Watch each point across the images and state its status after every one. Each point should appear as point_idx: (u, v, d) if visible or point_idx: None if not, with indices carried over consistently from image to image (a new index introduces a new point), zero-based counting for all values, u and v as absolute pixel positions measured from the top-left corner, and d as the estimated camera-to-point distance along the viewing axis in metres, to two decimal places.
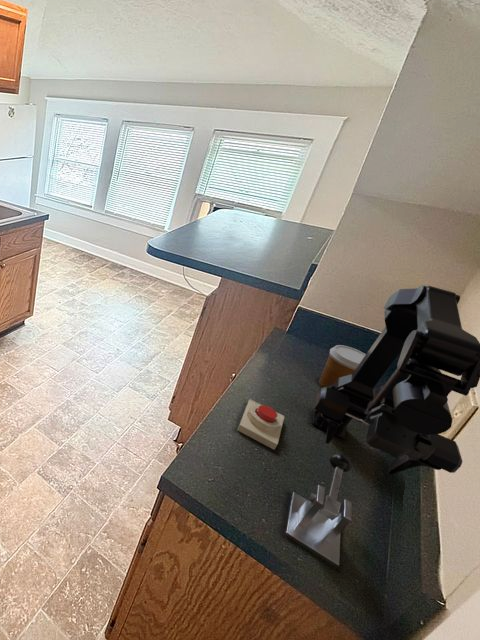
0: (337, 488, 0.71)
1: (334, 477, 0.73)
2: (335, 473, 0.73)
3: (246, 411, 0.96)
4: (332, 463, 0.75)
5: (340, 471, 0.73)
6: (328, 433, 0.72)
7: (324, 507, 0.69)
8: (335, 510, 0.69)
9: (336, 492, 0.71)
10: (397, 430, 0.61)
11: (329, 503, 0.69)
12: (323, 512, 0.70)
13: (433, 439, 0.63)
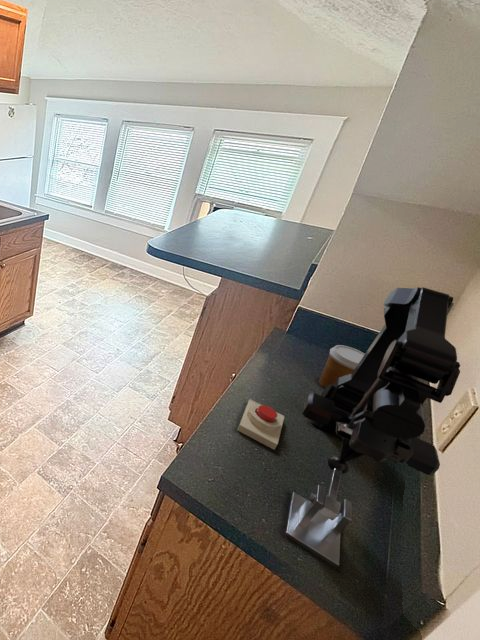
0: (336, 489, 0.72)
1: (333, 478, 0.73)
2: (334, 474, 0.74)
3: (246, 411, 0.96)
4: (331, 465, 0.75)
5: (338, 472, 0.74)
6: (342, 450, 0.73)
7: (324, 506, 0.69)
8: (335, 509, 0.69)
9: (335, 492, 0.71)
10: (378, 435, 0.65)
11: (329, 503, 0.69)
12: (323, 512, 0.70)
13: (413, 443, 0.67)
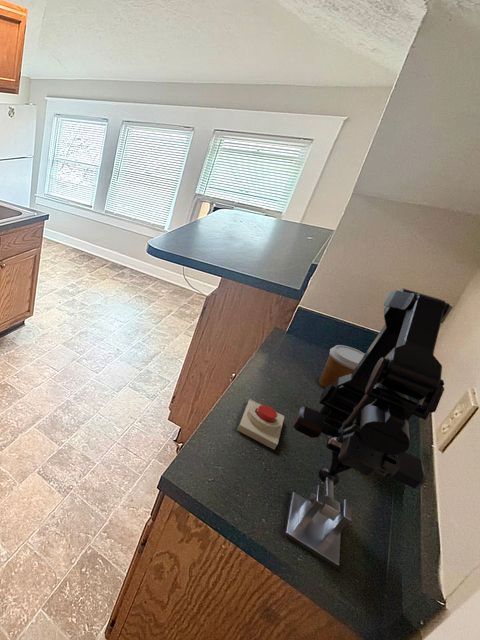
0: (332, 493, 0.73)
1: (327, 484, 0.75)
2: (327, 482, 0.75)
3: (246, 411, 0.96)
4: (322, 475, 0.77)
5: (331, 481, 0.76)
6: (333, 463, 0.75)
7: (326, 503, 0.69)
8: (336, 507, 0.69)
9: (332, 495, 0.72)
10: (366, 449, 0.67)
11: (329, 501, 0.70)
12: (324, 511, 0.69)
13: (400, 457, 0.69)
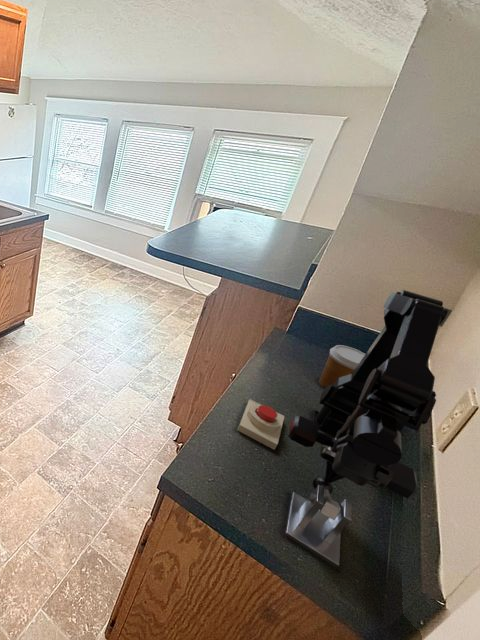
0: (329, 497, 0.73)
1: None
2: None
3: (246, 411, 0.96)
4: (317, 483, 0.78)
5: (326, 488, 0.76)
6: (327, 472, 0.76)
7: (326, 501, 0.69)
8: (336, 505, 0.69)
9: (330, 498, 0.72)
10: (359, 459, 0.67)
11: (329, 500, 0.70)
12: (325, 510, 0.69)
13: (393, 467, 0.69)
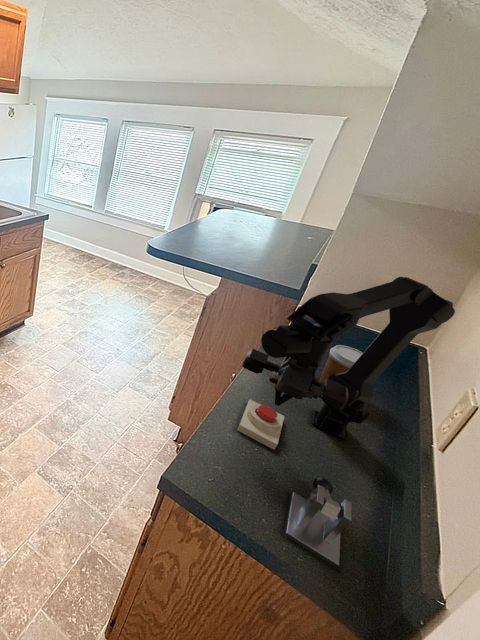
0: (329, 497, 0.73)
1: None
2: None
3: (246, 411, 0.96)
4: (317, 483, 0.78)
5: (326, 488, 0.76)
6: (276, 396, 0.87)
7: (326, 501, 0.69)
8: (336, 505, 0.69)
9: (330, 498, 0.72)
10: (298, 377, 0.78)
11: (329, 500, 0.70)
12: (325, 510, 0.69)
13: (328, 385, 0.80)
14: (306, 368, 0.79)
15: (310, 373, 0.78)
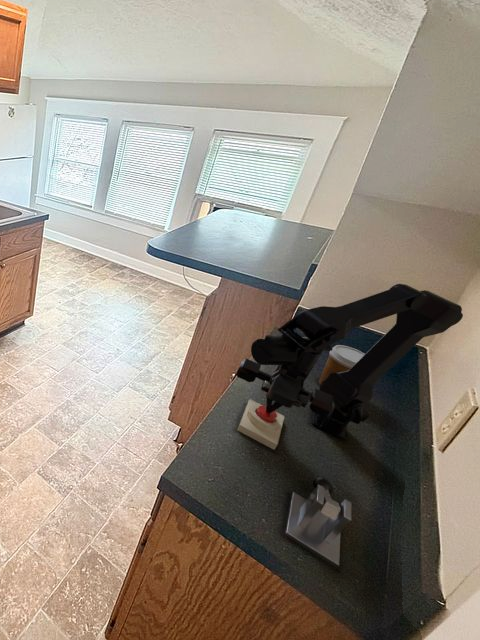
0: (329, 497, 0.73)
1: None
2: None
3: (246, 411, 0.96)
4: (317, 483, 0.78)
5: (326, 488, 0.76)
6: (267, 403, 0.91)
7: (326, 501, 0.69)
8: (336, 505, 0.69)
9: (330, 498, 0.72)
10: (287, 386, 0.83)
11: (329, 500, 0.70)
12: (325, 510, 0.69)
13: (316, 394, 0.85)
14: (295, 378, 0.84)
15: (299, 383, 0.83)
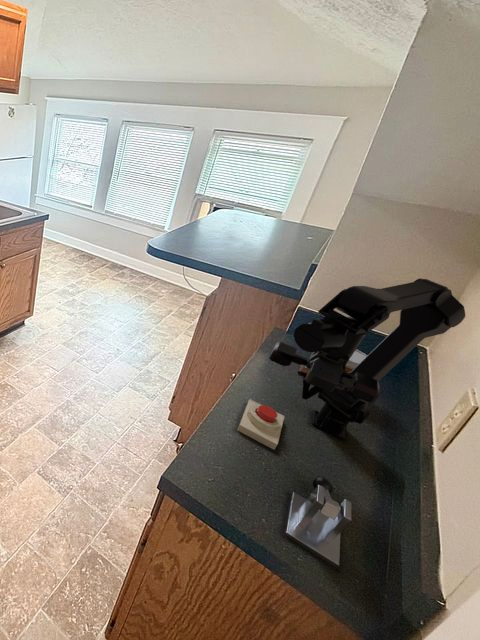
0: (329, 497, 0.73)
1: None
2: None
3: (246, 411, 0.96)
4: (317, 483, 0.78)
5: (326, 488, 0.76)
6: (303, 389, 0.86)
7: (326, 501, 0.69)
8: (336, 505, 0.69)
9: (330, 498, 0.72)
10: (328, 369, 0.78)
11: (329, 500, 0.70)
12: (325, 510, 0.69)
13: (359, 378, 0.79)
14: (336, 361, 0.78)
15: (341, 366, 0.78)
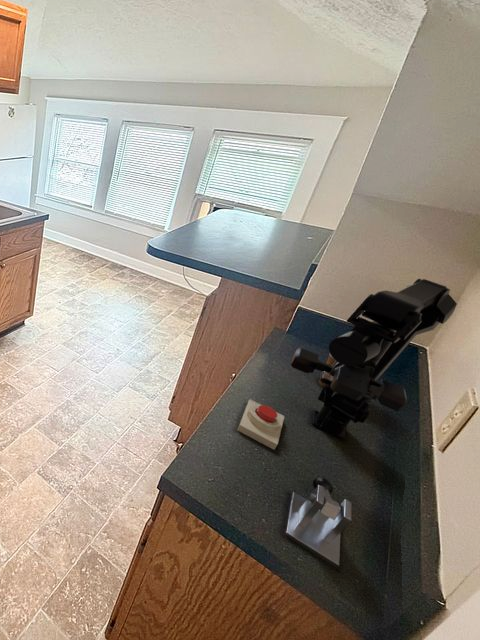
0: (329, 497, 0.73)
1: None
2: None
3: (246, 411, 0.96)
4: (317, 483, 0.78)
5: (326, 488, 0.76)
6: (326, 396, 0.84)
7: (326, 501, 0.69)
8: (336, 505, 0.69)
9: (330, 498, 0.72)
10: (355, 377, 0.75)
11: (329, 500, 0.70)
12: (325, 510, 0.69)
13: (385, 386, 0.77)
14: (363, 368, 0.76)
15: (367, 373, 0.76)
